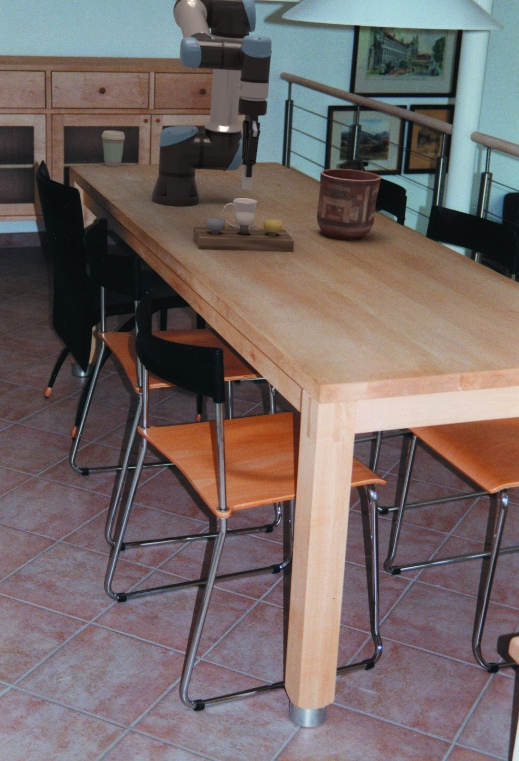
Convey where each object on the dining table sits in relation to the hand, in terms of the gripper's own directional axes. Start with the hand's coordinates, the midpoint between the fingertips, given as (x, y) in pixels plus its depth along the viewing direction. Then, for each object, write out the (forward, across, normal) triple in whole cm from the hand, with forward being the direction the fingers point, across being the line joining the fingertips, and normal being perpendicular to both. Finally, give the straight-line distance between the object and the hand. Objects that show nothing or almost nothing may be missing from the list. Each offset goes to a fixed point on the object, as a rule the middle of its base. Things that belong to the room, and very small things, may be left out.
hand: (246, 188), depth 265 cm
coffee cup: (+15, -107, -30) cm, 112 cm away
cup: (+16, -19, +2) cm, 25 cm away
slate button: (+14, 0, -8) cm, 16 cm away
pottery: (+16, -14, +33) cm, 39 cm away
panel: (+16, 0, 0) cm, 16 cm away
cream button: (+12, 0, 0) cm, 12 cm away
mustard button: (+14, 0, +8) cm, 16 cm away
